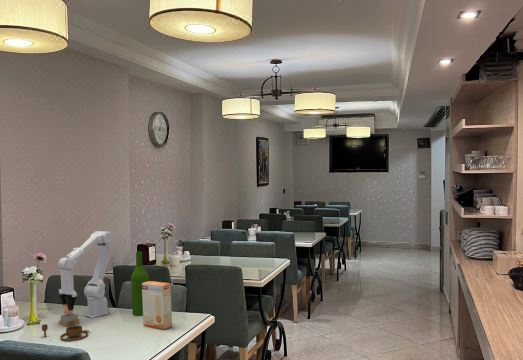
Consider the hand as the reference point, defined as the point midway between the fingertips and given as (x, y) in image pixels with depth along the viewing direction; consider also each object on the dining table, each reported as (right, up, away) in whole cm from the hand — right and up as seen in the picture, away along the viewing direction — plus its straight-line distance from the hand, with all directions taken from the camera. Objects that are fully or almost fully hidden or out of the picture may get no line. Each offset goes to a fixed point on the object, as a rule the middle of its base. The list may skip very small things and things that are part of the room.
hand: (68, 309), depth 245 cm
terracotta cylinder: (0, -2, 0) cm, 2 cm away
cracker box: (+46, -6, -9) cm, 47 cm away
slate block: (0, -5, 0) cm, 5 cm away
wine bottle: (+33, -6, +14) cm, 36 cm away
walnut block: (0, -8, 0) cm, 8 cm away
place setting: (+7, -8, -18) cm, 21 cm away
